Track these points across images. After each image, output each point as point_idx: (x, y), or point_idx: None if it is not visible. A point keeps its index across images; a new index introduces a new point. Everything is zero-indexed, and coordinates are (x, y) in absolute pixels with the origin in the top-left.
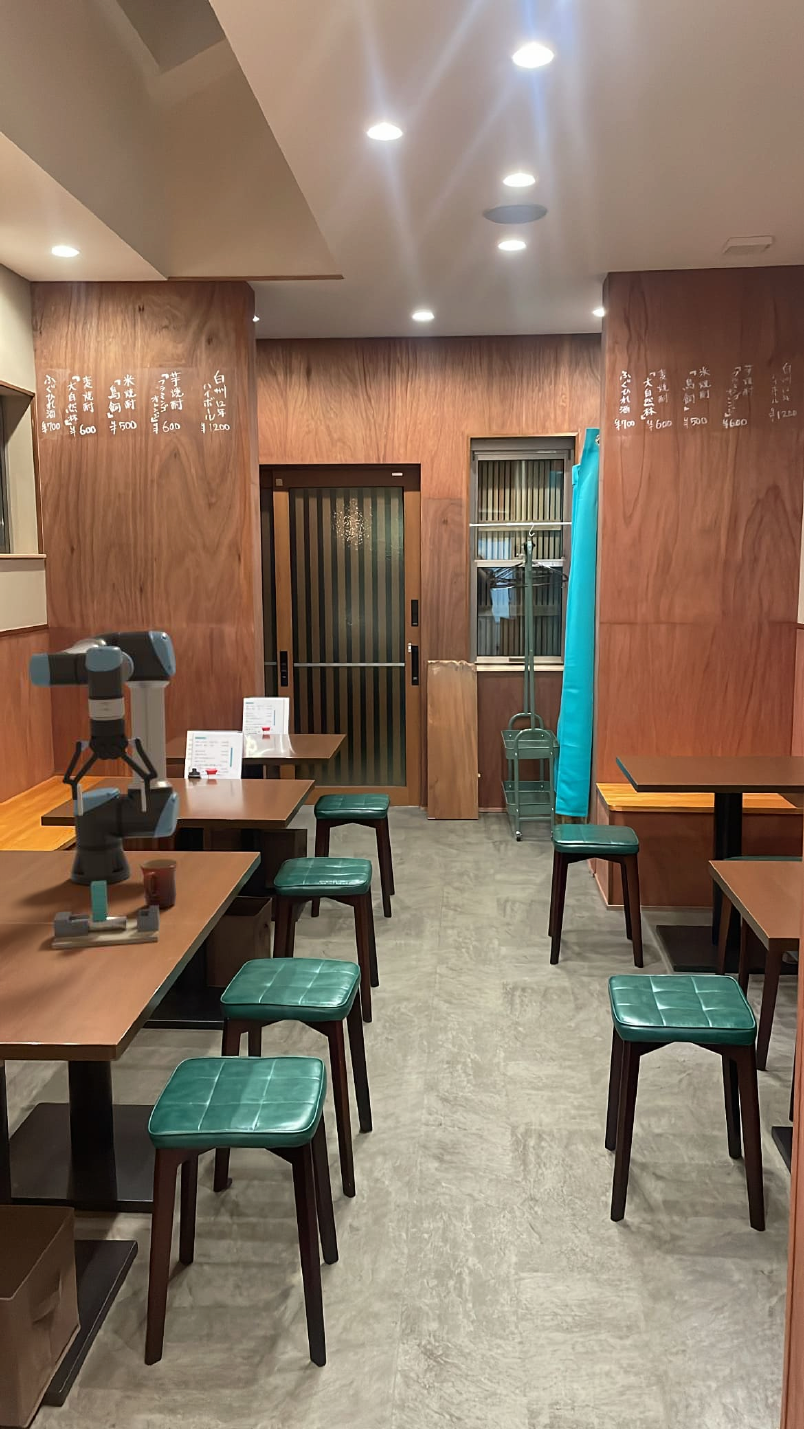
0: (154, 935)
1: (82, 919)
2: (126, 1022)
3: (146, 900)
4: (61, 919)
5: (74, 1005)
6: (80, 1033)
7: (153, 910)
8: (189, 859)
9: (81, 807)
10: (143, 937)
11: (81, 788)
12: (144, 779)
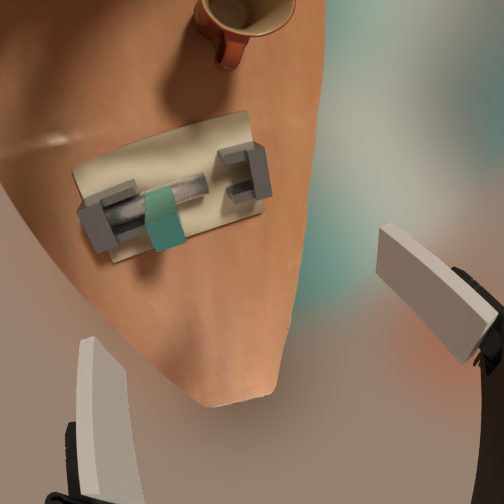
0: (259, 206)
1: (131, 213)
2: (275, 375)
3: (200, 31)
4: (107, 247)
5: (224, 369)
6: (247, 392)
7: (261, 180)
8: None
9: (128, 403)
10: (244, 217)
11: (102, 468)
12: (484, 363)
